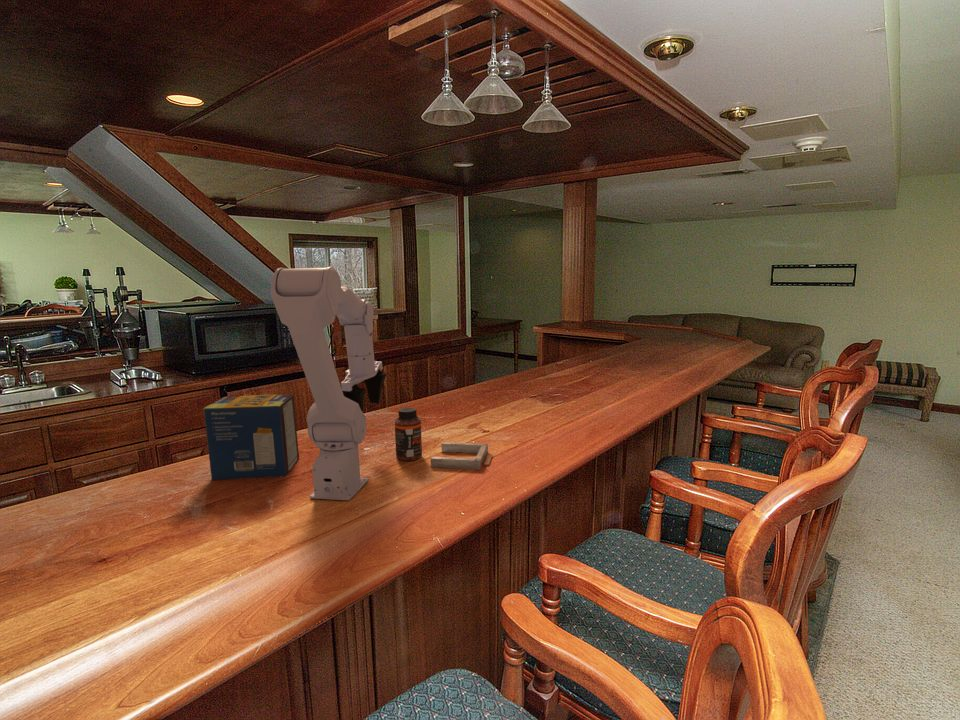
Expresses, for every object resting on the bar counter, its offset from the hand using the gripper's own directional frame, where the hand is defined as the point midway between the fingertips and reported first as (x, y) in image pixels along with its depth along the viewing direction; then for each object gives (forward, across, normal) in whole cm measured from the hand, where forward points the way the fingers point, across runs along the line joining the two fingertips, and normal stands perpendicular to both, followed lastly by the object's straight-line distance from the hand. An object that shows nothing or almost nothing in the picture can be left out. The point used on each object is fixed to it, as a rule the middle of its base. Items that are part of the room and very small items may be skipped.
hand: (366, 409), depth 114 cm
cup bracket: (+10, -1, +22) cm, 24 cm away
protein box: (+10, +16, -19) cm, 27 cm away
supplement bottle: (+11, +1, +10) cm, 15 cm away
